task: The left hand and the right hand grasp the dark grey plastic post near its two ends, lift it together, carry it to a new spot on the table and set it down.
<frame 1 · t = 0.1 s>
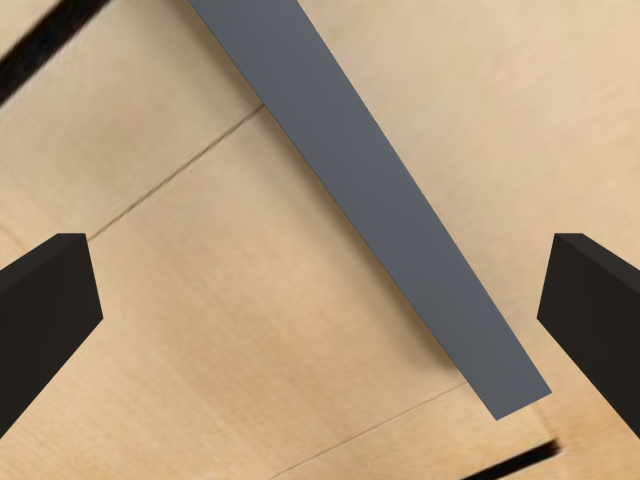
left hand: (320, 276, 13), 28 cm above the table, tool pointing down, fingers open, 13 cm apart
post: (349, 146, 39), on the table
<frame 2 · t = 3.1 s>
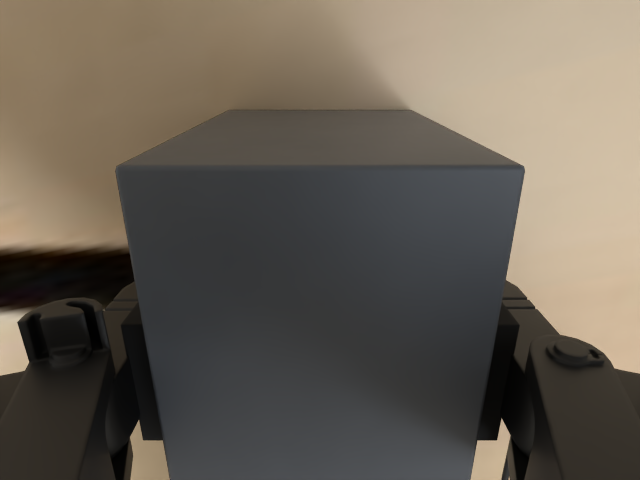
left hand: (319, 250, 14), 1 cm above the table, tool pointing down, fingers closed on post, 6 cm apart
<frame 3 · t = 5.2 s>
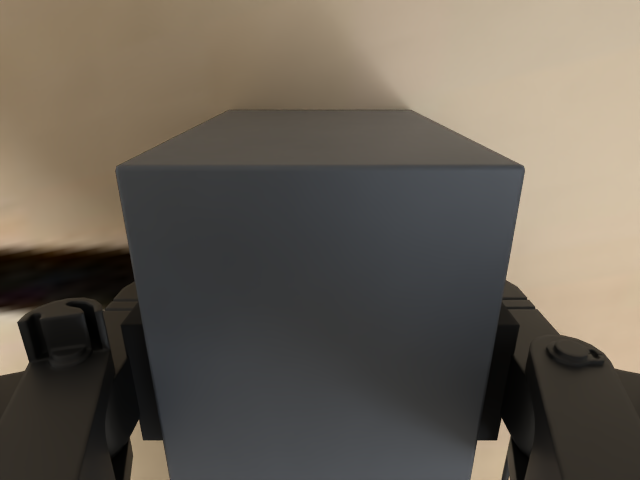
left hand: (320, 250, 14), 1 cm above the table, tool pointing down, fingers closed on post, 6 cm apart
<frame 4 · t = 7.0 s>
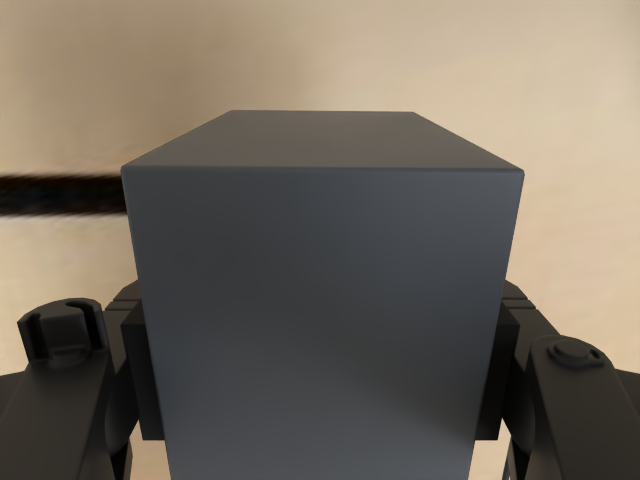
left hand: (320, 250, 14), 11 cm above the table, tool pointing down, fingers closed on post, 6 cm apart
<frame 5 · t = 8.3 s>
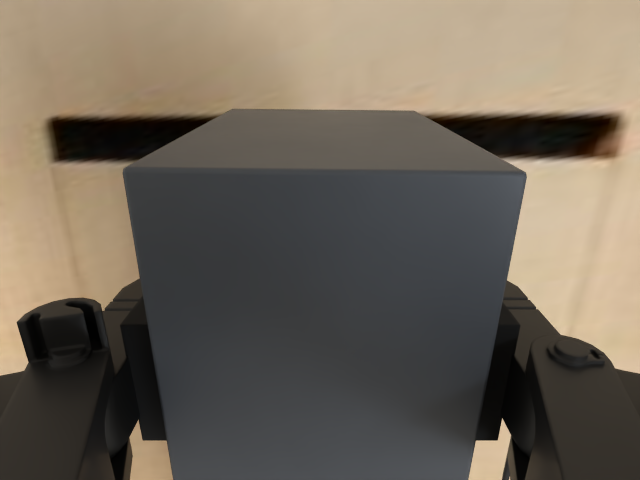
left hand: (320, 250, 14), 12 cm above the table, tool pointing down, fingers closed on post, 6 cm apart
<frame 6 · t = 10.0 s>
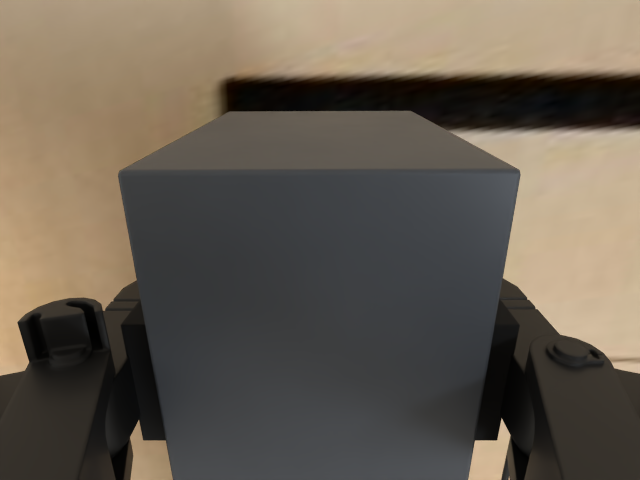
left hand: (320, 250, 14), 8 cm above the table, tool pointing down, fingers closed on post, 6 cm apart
when the left hand's fingers open (2 cm above the table, at t = 11.1 s): post drops 1 cm, on the table.
when the right hand's fingers open (4 cm above the table, at t = 11.3 s): post stays where it is, on the table.
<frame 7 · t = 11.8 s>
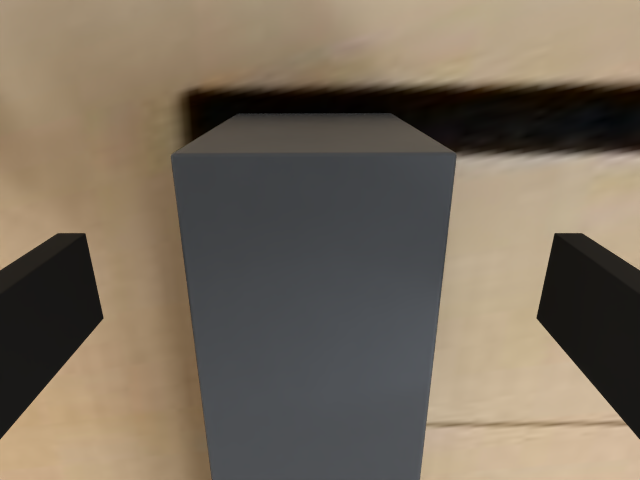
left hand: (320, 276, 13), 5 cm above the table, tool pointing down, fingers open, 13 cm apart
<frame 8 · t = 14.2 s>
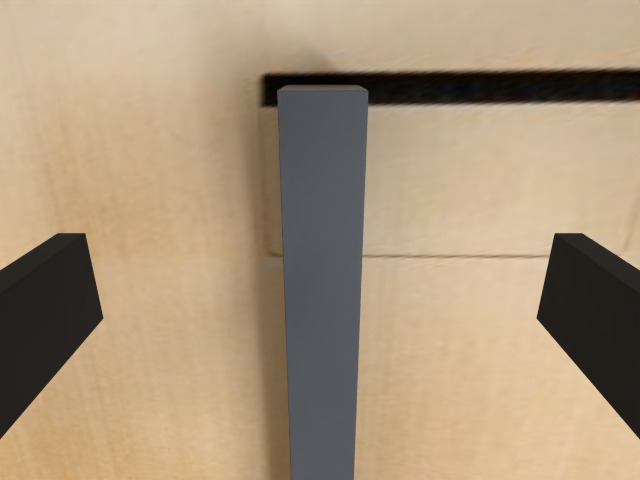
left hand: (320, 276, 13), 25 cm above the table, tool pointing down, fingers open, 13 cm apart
post: (322, 372, 44), on the table
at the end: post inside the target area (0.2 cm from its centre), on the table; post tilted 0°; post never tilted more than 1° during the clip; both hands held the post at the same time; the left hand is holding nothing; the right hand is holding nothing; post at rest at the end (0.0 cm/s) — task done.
